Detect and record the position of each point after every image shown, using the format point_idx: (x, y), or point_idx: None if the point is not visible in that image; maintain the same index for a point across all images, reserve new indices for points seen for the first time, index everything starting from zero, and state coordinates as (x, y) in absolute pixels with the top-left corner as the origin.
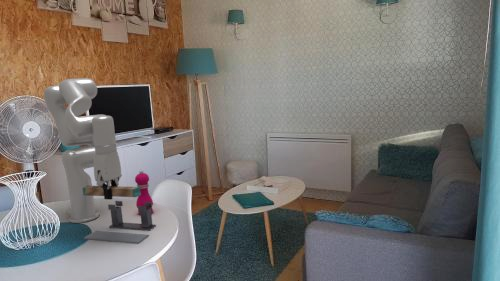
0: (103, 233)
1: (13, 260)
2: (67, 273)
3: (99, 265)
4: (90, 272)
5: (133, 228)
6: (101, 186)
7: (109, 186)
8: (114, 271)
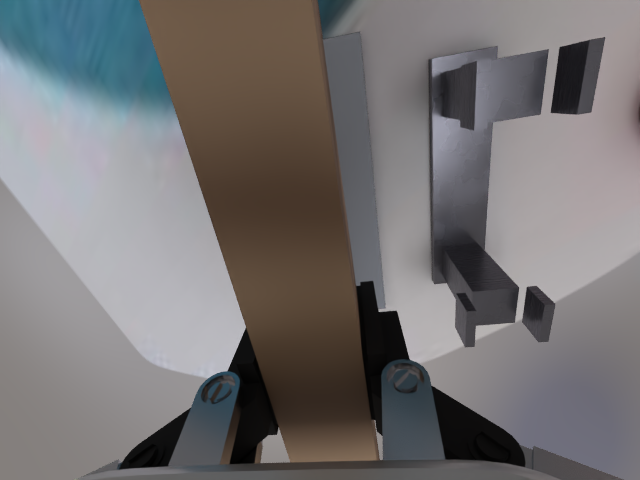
0: (340, 114)
1: None
2: (77, 253)
3: (160, 300)
4: (124, 306)
5: (432, 209)
6: (155, 445)
7: (251, 461)
8: (165, 354)
